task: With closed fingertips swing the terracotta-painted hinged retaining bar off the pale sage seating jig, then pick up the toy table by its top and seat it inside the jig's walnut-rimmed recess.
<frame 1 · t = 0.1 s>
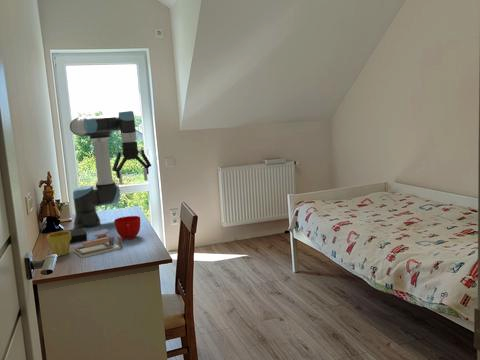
hand: (133, 182, 231), 28 cm above the table, fingers open, 13 cm apart
retaining bar: (99, 241, 211), point 4 cm above the table, hinge at 0.0°
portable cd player: (69, 240, 236), on the table
ceramic cup: (129, 238, 229), on the table
toy table: (103, 243, 225), on the table
seating jig: (97, 250, 211), on the table
plant pot: (61, 254, 209), on the table
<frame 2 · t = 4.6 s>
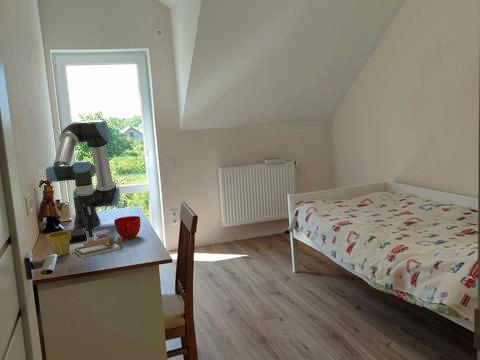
hand: (91, 243, 210), 4 cm above the table, fingers closed
retaining bar: (99, 241, 211), point 4 cm above the table, hinge at 4.7°, touching gripper
everything else where it was.
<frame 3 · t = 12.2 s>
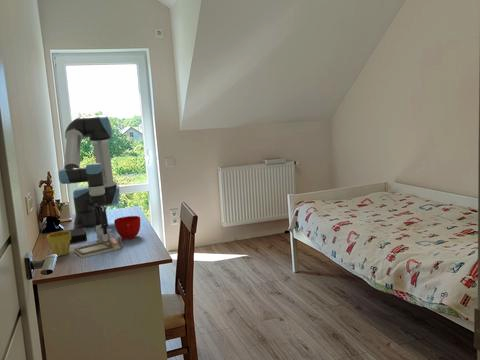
hand: (102, 239, 224), 2 cm above the table, fingers closed on toy table, 8 cm apart
retaining bar: (113, 241, 209), point 4 cm above the table, hinge at 80.7°
toy table: (106, 242, 225), on the table, touching gripper
everything else where it was.
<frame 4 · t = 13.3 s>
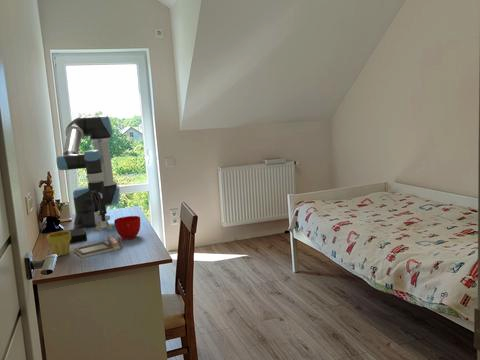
hand: (101, 225, 224), 9 cm above the table, fingers closed on toy table, 8 cm apart
toy table: (104, 229, 225), point 6 cm above the table, touching gripper
everything else where it was.
when the fingers open (4 cm above the table, at t = 16.8 s): toy table stays where it is, resting on seating jig.
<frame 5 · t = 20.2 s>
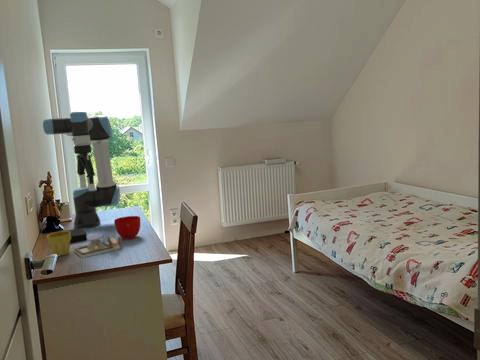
hand: (87, 189, 212), 29 cm above the table, fingers open, 13 cm apart
toy table: (96, 248, 211), point 1 cm above the table, touching seating jig
everything else where it was.
at the end: retaining bar at +81° (first picture: +0°); toy table inside the target area (1.6 cm from its centre), point 0.8 cm above the table; toy table touching seating jig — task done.
